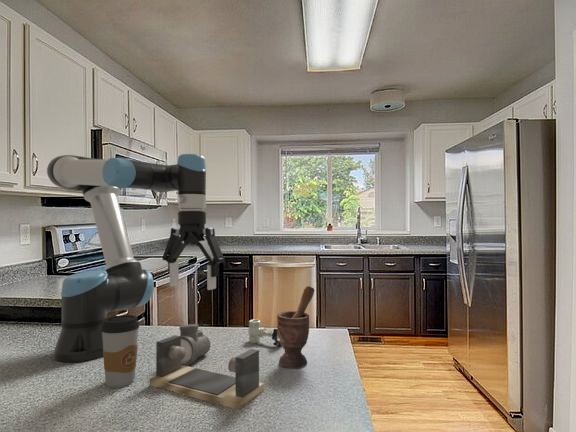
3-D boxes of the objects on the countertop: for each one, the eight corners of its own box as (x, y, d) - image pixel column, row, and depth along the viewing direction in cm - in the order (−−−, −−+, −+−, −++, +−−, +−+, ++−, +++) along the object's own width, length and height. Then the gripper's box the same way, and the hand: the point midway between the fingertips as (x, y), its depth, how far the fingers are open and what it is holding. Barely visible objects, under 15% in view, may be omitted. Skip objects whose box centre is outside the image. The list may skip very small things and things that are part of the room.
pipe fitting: (192, 369, 97) (192, 327, 99) (166, 368, 99) (166, 327, 101) (216, 358, 108) (215, 321, 110) (191, 358, 111) (191, 322, 112)
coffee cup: (114, 393, 84) (115, 325, 85) (93, 384, 89) (93, 320, 89) (146, 379, 91) (146, 317, 92) (125, 372, 96) (125, 313, 96)
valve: (243, 343, 120) (274, 349, 113) (243, 322, 120) (274, 327, 113) (255, 337, 125) (286, 343, 119) (255, 317, 125) (286, 322, 119)
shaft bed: (149, 385, 88) (149, 344, 88) (180, 370, 97) (180, 333, 97) (237, 409, 77) (237, 361, 77) (263, 390, 85) (263, 347, 86)
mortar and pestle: (291, 353, 110) (290, 283, 110) (319, 357, 106) (318, 285, 106) (271, 366, 100) (271, 290, 100) (301, 372, 96) (301, 292, 96)
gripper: (149, 211, 108) (149, 286, 107) (219, 208, 96) (219, 292, 96) (169, 212, 115) (169, 282, 114) (236, 209, 103) (237, 288, 102)
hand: (192, 287), depth 105 cm, fingers open, 13 cm apart
